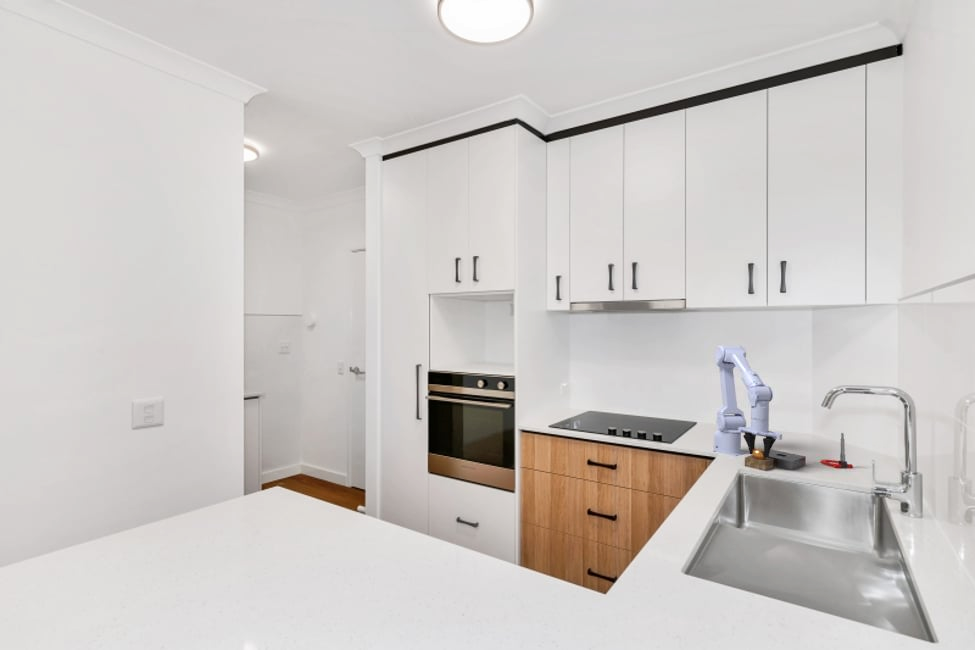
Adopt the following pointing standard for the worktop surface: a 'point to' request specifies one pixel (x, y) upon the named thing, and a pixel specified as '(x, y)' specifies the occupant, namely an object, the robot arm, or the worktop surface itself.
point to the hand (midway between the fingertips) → (759, 455)
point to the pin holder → (759, 463)
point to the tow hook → (842, 462)
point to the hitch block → (787, 460)
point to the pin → (758, 454)
